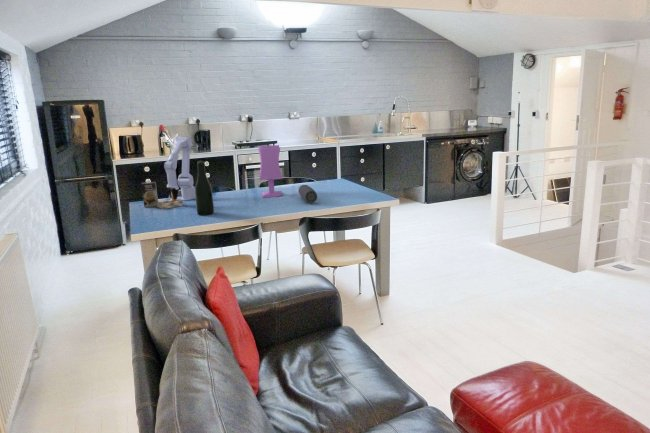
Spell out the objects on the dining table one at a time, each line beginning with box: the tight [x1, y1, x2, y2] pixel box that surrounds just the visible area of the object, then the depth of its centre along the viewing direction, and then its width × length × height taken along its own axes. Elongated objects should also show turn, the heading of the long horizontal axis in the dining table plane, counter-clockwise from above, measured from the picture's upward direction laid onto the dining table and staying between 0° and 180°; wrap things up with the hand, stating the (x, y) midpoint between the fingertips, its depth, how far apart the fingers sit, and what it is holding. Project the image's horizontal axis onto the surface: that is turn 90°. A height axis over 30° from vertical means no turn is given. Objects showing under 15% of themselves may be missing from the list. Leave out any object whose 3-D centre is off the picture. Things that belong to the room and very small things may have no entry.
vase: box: [257, 144, 283, 198], centre depth 337 cm, size 16×16×35 cm
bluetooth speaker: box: [298, 184, 318, 204], centre depth 317 cm, size 23×9×10 cm, turn 14°
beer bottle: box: [194, 160, 215, 216], centre depth 289 cm, size 10×10×33 cm
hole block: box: [156, 198, 184, 210], centre depth 318 cm, size 14×10×3 cm
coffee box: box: [140, 181, 159, 208], centre depth 319 cm, size 9×6×16 cm
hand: (174, 198), depth 319 cm, fingers closed on dowel, 3 cm apart
